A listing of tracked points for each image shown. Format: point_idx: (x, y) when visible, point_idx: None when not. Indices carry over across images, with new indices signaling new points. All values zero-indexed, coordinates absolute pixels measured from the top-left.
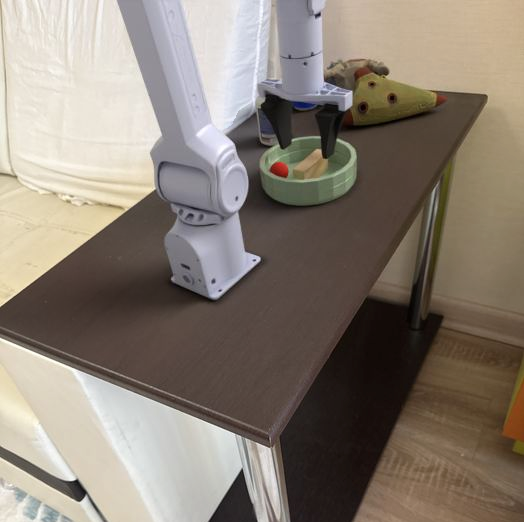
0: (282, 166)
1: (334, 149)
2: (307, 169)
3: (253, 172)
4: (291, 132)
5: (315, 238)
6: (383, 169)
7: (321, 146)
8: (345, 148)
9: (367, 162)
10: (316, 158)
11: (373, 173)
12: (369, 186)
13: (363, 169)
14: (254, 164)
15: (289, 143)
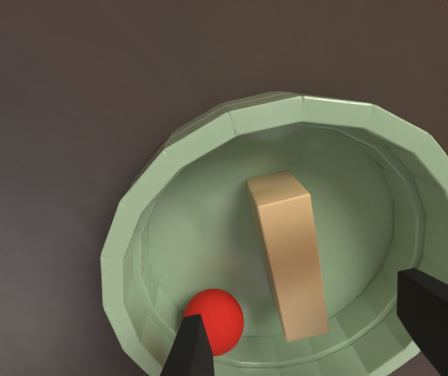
0: (234, 340)
1: (429, 275)
2: (326, 314)
3: (90, 296)
4: (195, 350)
5: (429, 361)
6: (442, 27)
7: (440, 372)
8: (364, 130)
9: (361, 18)
10: (311, 260)
11: (421, 75)
12: (445, 149)
13: (375, 73)
14: (44, 268)
15: (204, 332)
